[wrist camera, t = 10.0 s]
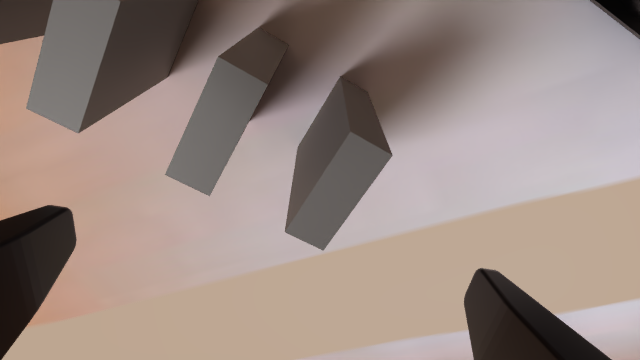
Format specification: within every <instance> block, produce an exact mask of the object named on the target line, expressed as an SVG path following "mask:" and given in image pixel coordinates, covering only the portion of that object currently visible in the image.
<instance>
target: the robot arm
mask: <svg viewBox="0 0 640 360" xmlns="http://www.w3.org/2000/svg"><path fill="white" fill-rule="evenodd" d="M590 1H591V2H593V3H594V4H595V5H596V6H598V7H599V8H600V9H602V10H603V11H604V12H605V13H607V14H608V15H609V16H611V17H612V18H613V19H614V20H616V21H617V22H618V23H620V24H621V25H622V26H623V27H625V28H626V29H627V30H629V31H630V32H631V33H632V34H634V35H635V36H636V37H638V38H639V39H640V0H590ZM75 246H76V233H75V226H74V220H73V214H72V212H71V210H70V209H69V208H67V207H61V206H54V205H47V206H44V207H41V208H38V209H35V210H31V211H28V212H25V213H22V214H19V215H16V216H13V217H10V218H7V219H4V220H1V221H0V360H2V358H3V356H4V355H5V354H6V353H7V351H8V350H9V349H10V347H11V346H12V345H13V343H14V342H15V341H16V339H17V338H18V337H19V335H20V334H21V333H22V331H23V330H24V329H25V327H26V326H27V325H28V323H29V322H30V320H31V319H32V318H33V316H34V315H35V313H36V312H37V311H38V309H39V307H40V306H41V304H42V303H43V301H44V300H45V298H46V296H47V295H48V293H49V291H50V289H51V288H52V286H53V284H54V283H55V281H56V279H57V278H58V276H59V274H60V273H61V271H62V269H63V268H64V266H65V264H66V262H67V261H68V259H69V257H70V256H71V254H72V252H73V251H74V248H75ZM464 307H465V312H466V318H467V323H468V329H469V335H470V340H471V346H472V352H473V357H474V360H611V359H610V358H609V357H608V356H606V355H605V354H604V353H602V352H601V351H600V350H599V349H597V348H596V347H595V346H593V345H592V344H591V343H590V342H588V341H587V340H586V339H584V338H583V337H582V336H581V335H579V334H578V333H577V332H575V331H574V330H573V329H572V328H570V327H569V326H568V325H566V324H565V323H564V322H563V321H561V320H560V319H559V318H557V317H556V316H555V315H554V314H552V313H551V312H550V311H548V310H547V309H546V308H545V307H543V306H542V305H540V304H539V303H538V302H537V301H536V300H534V299H533V298H532V297H530V296H529V295H528V294H526V293H525V292H524V291H523V290H521V289H520V288H519V287H517V286H516V285H515V284H514V283H512V282H511V281H510V280H509V279H507V278H506V277H505V276H503V275H502V274H501V273H500V272H498V271H496V270H490V269H483V268H480V269H478V270H477V271H476V272H475V274H474V276H473V278H472V280H471V283H470V285H469V287H468V289H467V292H466V294H465V298H464Z"/></svg>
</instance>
